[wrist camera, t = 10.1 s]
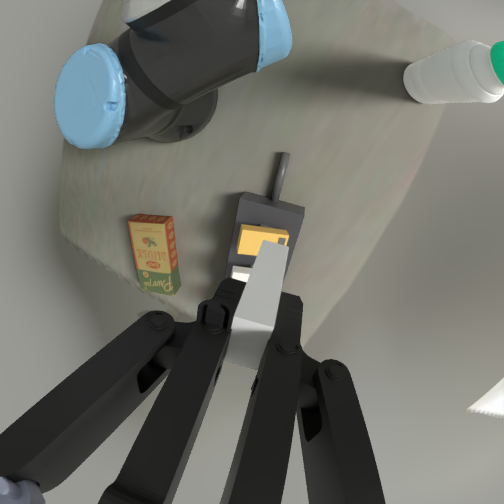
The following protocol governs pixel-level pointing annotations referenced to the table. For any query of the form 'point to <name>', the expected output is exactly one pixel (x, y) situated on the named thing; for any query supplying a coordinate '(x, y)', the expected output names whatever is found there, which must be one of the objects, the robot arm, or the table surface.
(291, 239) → the power strip
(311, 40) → the table surface
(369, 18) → the table surface
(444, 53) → the water bottle
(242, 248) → the rocker amber
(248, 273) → the rocker white
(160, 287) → the carton
